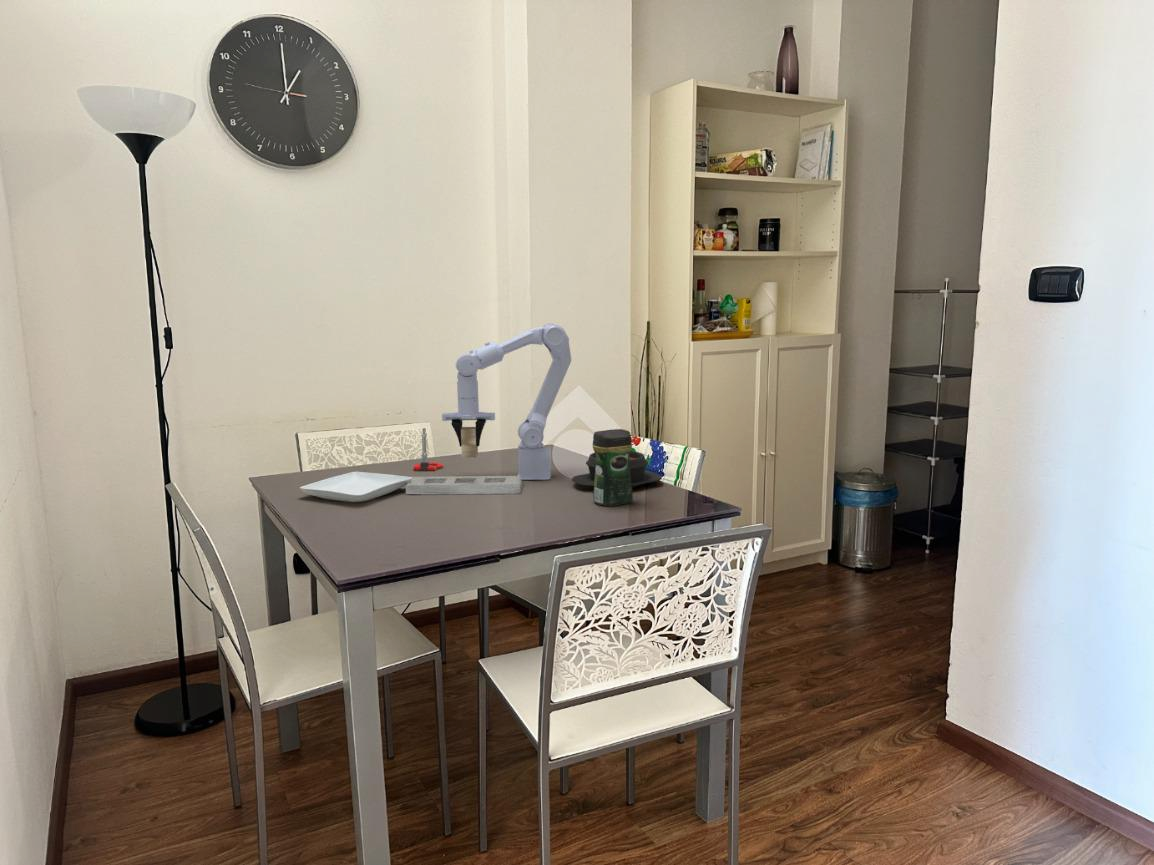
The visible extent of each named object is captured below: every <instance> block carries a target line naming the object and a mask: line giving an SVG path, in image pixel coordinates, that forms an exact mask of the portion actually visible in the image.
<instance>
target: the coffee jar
mask: <svg viewBox="0 0 1154 865" xmlns="http://www.w3.org/2000/svg"><path fill="white" fill-rule="evenodd" d="M592 439H593V440H592V450H593V453H595V458H596V466H595V480H594V486H593V492H592V494H593V498H592V499H593V501H594V503H595V504H597V505H598V506H601V505H602V506H605V507H612V506H613V505H615V506H621V505H620V504H622V505H626V504H630V503H632V501H633V500H634V499H633V498H634V495H633V488H632V484H631V475H630V451H632V447H633V443H632V435H631V432H630V431H629V430H626V429H623V428H616V429H615V428H614V429H605V430H597V431H594V432H593V436H592Z"/></svg>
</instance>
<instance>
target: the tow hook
mask: <svg viewBox="0 0 1154 865" xmlns="http://www.w3.org/2000/svg"><path fill="white" fill-rule="evenodd" d="M421 436H422V437H421V442H422V443H421V447H422V453H421V462H420V463H417V464H415V465H413V471H418V470H426V471H425V472H436V471H435V470H438V469H442V468H443V467H444V464H443V463H440V462H429V461H428V453H427V434H426V427H422V435H421ZM429 465H433V466H429ZM428 470H430V471H428Z"/></svg>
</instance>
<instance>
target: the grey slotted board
mask: <svg viewBox="0 0 1154 865" xmlns="http://www.w3.org/2000/svg"><path fill="white" fill-rule="evenodd" d="M522 488H523V480H522V476H517V475H483V476H482V475H476V476H475V475H474V476H473V475H472V476H471V475H469V476H468V475H467V476H466V475H465V476H464V475H463V476H461V475H460V476H453V475H452V476H412V480H411V481H410V482H408V483H407V484H406V485H405V495H406V494H421V495H500V494H501V495H506V494H507V495H510V494H512V495H513V494H514V495H517V494H521V491H522Z"/></svg>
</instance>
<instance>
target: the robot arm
mask: <svg viewBox="0 0 1154 865" xmlns="http://www.w3.org/2000/svg"><path fill="white" fill-rule="evenodd" d="M529 345H538V346H540V345H541V346H542V345H543V346H545V347H546V348H547V350H548V352H549V354H550V356H551V359H552V361H551V364H550V366H549V368H548V371H547V373H546V375H545V377H544V380H543V382H542V384H541V387H540V390H539V391H538V394H537V396H536V398H535V401H534V403H533V406H532V408H531V410H530V412H529V413H528V414H527V416H526V418H525V420H524V421H523V422H522V423H521V424H520V425H519V427H518V429H517V436H518V437H519V439H520V442H519V444H518V445H517V451H518V453H517V454H518V456H517V457H518V473H517V475H516V476H522V481H524V480H526V481H528V480H529V481H530V480H531V481H532V480H533V481H534V480H536V481H537V480H539V481H540V480H542V481H544V480H551V478H552V471H553V466H552V462H551V461H552V457H551V456H552V455H551V450H552V448H551V447H550V446H545V445H544V443H543V441H544V431H545V428H546V424H547V419H548V416H549V414H550V412H551V409H552V407H553V404H554V402H555V400H556V397H557V396H558V393H559V391H560V388H561V386H562V383H563V381H564V379H565V376H566V375H567V372H568V370H569V367H570V366H571V362H572V355H571V348H570V338H569V336H568V334H567V332H566V330H565V329H564V328H563V327H562V326H560V325H558V324H554V323H546V324H544V325H543V326H537V327H534V328H531V329H528V330H527V331H526V330H525V332H523V333H521V334H518V335H515V336H514V337H511V338H509V339H507V340H506V341H504V342H501V343H498V342H495V341H492V342H490V341H487V342H485V343H484V345H483V346H480V347H479V348H477V349H475V350H473V349H470V350H468V352H469V354H468V353H465V354H461V355H460V356H459V357H458V358H457V359H456V363H455V368H456V370H457V374H456V376H457V381H456V384H457V385H456V386H457V391H456V392H457V394H456V395H457V412H443V413H442V414H441V420H442V422H445V421H446V422H447V421H451V426H452V428H453V430H454V432H455V435H456V437H457V440H458V444H459V447H461V448H462V446H461V429H462V427H463V421H475V424H474V425H475V427H476V446H478V447H479V446H480V442H481V436H482V433H483V430H484V427H485V425H486V422H487V421H495V420H496V413H495V412H485V411H480V409H479V408H480V407H479V406H480V405H479V381H478V379H477V378H478V377H477V372H478V371H479V370H480V371H483V370H485V369H487V368H489V367H491V366H493V365H495V364H496V365H497V364H498V363H500V362H502V361H503V359H504V357H505V355H506V354H508V353H512V352H514V351H516V350H519V349H521V348H524V347H527V346H529Z"/></svg>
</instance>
